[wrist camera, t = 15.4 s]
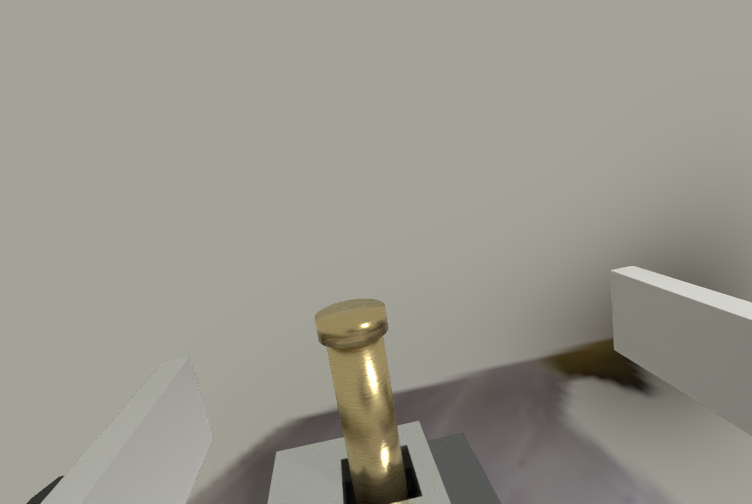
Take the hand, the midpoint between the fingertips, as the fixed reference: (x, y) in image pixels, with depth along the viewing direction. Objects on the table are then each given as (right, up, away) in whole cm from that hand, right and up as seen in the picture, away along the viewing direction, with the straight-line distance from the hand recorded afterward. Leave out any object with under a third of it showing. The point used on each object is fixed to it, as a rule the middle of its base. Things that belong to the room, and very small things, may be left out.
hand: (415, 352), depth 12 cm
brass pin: (0, -16, +16) cm, 23 cm away
